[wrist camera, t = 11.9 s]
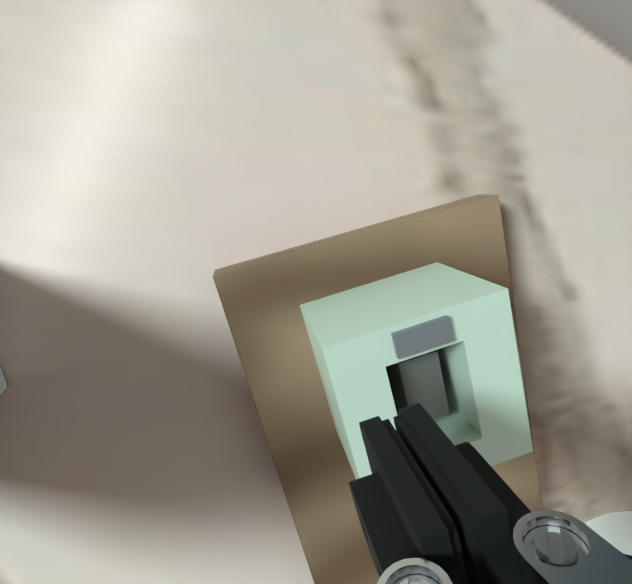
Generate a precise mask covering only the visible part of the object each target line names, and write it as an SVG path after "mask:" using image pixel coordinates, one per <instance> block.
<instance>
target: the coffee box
mask: <svg viewBox="0 0 632 584" xmlns="http://www.w3.org/2000/svg"><path fill="white" fill-rule="evenodd" d="M6 389H7V383H6V380H5V377H4V374H3V372H2V370H1V368H0V395H1V394H2V393H3V392H4V391H5V390H6Z"/></svg>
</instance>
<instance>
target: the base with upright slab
mask: <svg viewBox="0 0 632 584" xmlns="http://www.w3.org/2000/svg"><path fill="white" fill-rule="evenodd" d="M585 524H586V525H587V526H588V527H590V528H591V529H592V530H593V531H595V532H596V533H597V534H599V535H600V536H601V537H602V538H604V539H605V540H606V541H607V542H609V543H610V544H611V545H613V546H614V547H615V548H616V549H618V550H619V551H620V552H622V553H624V554H627V555H631V556H632V512H631V511H622V512H613V513H608V514H605V515H602V516H599V517H597V518H594V519H591V520H590V521H588V522H586V523H585Z"/></svg>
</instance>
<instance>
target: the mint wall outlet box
mask: <svg viewBox="0 0 632 584" xmlns="http://www.w3.org/2000/svg"><path fill="white" fill-rule="evenodd" d="M300 308H301V311H302V315H303V318H304V322H305V325H306V328H307V332H308V335H309V339H310V342H311V345H312V349H313V352H314V356H315V359H316V362H317V366H318V369H319V373H320V376H321V379H322V383H323V386H324V390H325V393H326V396H327V400H328V403H329V407H330V410H331V413H332V417H333V420H334V424H335V427H336V431H337V433H338V436H339V438H340V441H341V443H342V446H343V448H344V450H345V453H346V455H347V458H348V460H349V463H350V465H351V468H352V470H353V473H354V475H355V478H356V479H359V478H362V477H365V476H368V475H371V474H372V472H371V468H370V464H369V461H368V457H367V453H366V449H365V445H364V441H363V438H362V434H361V430H360V426H359V422H362V421H365V420H368V419H371V418H374V417H377V416H379V417H380V418H381V420H382V421H383V420H386V419H389V420H390V422H391V424H392V425H393V427H394V428H395V424H394V417H395V416H398V415H399V409H400V408H399V407H398V405H397V404H396V402H395V401H394V400H393V395H392V391H391V387H390V383H389V379H388V375H387V371H386V366H389V365H392V364H395V363H398V362H401V361H404V360H407V359H410V358H413V357H416V356H419V355H422V354H425V353H428V352H431V351H434V350H437V351H438V356H439V361H440V367H441V372H442V377H443V382H444V387H445V392H446V397H447V402H448V407H449V412H450V413H447V414H444V415H441V416H438V417H436V418H433V420H434V421H435V422H436V423H437V425H438V426H439V427H440V428H441V429H442V431H443V432H444V433H445V434H446V436H447V437H448V438H449V439H450V440H451V442H452V443H453V444H454V445H458V444H461V443H463V442H469V443H470V444H471V445H472V446H473V447H474V448H475V449H476V450H477V451H478V452H479V453H480V455H481V456H482V457H483V458H484V459H485V460H486V461H487V462H488V464H489V465H490V466H494V465H497V464H500V463H502V462H505V461H508V460H511V459H513V458H516V457H519V456H522V455H524V454H527V453H530V452H533V447H532V441H531V434H530V428H529V421H528V415H527V408H526V402H525V395H524V389H523V382H522V376H521V369H520V363H519V356H518V350H517V343H516V337H515V331H514V324H513V318H512V311H511V305H510V298H509V292H508V288H505V287H502V286H500V285H497V284H494V283H492V282H489V281H486V280H484V279H481V278H478V277H476V276H473V275H470V274H468V273H465V272H462V271H460V270H457V269H454V268H452V267H449V266H446V265H444V264H441V263H438V262H436V263H433V264H430V265H426V266H423V267H420V268H417V269H414V270H410V271H407V272H404V273H401V274H398V275H394V276H391V277H388V278H385V279H381V280H378V281H375V282H372V283H369V284H365V285H362V286H359V287H356V288H353V289H349V290H346V291H343V292H340V293H337V294H333V295H330V296H327V297H324V298H320V299H317V300H314V301H311V302H308V303H304V304H301V305H300ZM395 430H396V428H395Z"/></svg>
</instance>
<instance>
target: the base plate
mask: <svg viewBox="0 0 632 584" xmlns="http://www.w3.org/2000/svg"><path fill="white" fill-rule="evenodd" d="M436 262H438V263H441V264H444V265H446V266H449V267H452V268H454V269H457V270H460V271H462V272H465V273H468V274H470V275H473V276H476V277H478V278H481V279H484V280H486V281H489V282H492V283H494V284H497V285H500V286H502V287H505V288H508V292H509V298H510V305H511V311H512V318H513V324H514V331H515V337H516V343H517V350H518V356H519V363H520V369H521V376H522V382H523V389H524V395H525V402H526V408H527V415H528V421H529V428H530V434H531V441H532V447H533V452H530V453H527V454H524V455H522V456H519V457H516V458H513V459H511V460H508V461H505V462H502V463H500V464H497V465H494V466H491V467H492V468H493V469H494V470H495V471H496V473H497V474H498V475H499V476H500V477H501V478H502V479H503V480H504V482H505V483H506V484H507V485H508V486H509V487H510V488H511V489H512V491H513V492H514V493H515V494H516V495H517V496H518V497H519V498H520V499H521V501H522V502H523V503H524V504H525V505H526V506H527V507H528V508H529V510H530V511H531V512H534V511H540V510H543V509H542V502H541V495H540V487H539V480H538V473H537V466H536V459H535V452H534V445H533V438H532V431H531V424H530V416H529V409H528V402H527V395H526V388H525V381H524V374H523V367H522V360H521V353H520V345H519V338H518V331H517V324H516V317H515V310H514V303H513V296H512V289H511V282H510V274H509V267H508V260H507V253H506V246H505V239H504V232H503V225H502V218H501V211H500V203H499V196H498V195H476V196H473V197H469V198H466V199H462V200H459V201H455V202H452V203H448V204H445V205H441V206H438V207H434V208H431V209H427V210H424V211H420V212H417V213H413V214H410V215H406V216H403V217H399V218H396V219H392V220H389V221H385V222H382V223H378V224H375V225H371V226H368V227H364V228H361V229H357V230H354V231H350V232H347V233H343V234H340V235H336V236H333V237H329V238H326V239H322V240H319V241H315V242H312V243H308V244H305V245H301V246H298V247H294V248H291V249H287V250H284V251H280V252H277V253H273V254H270V255H266V256H263V257H259V258H256V259H252V260H249V261H245V262H242V263H238V264H235V265H231V266H228V267H224V268H221V269H217V270H215V272H214V275H213V279H214V282H215V285H216V288H217V291H218V294H219V297H220V300H221V303H222V306H223V309H224V312H225V315H226V318H227V321H228V324H229V327H230V330H231V333H232V336H233V339H234V342H235V345H236V348H237V351H238V354H239V357H240V360H241V363H242V366H243V369H244V372H245V375H246V378H247V381H248V384H249V387H250V390H251V393H252V396H253V399H254V402H255V405H256V408H257V411H258V414H259V417H260V420H261V423H262V426H263V429H264V432H265V435H266V438H267V441H268V444H269V447H270V450H271V453H272V457H273V460H274V463H275V466H276V469H277V472H278V475H279V478H280V481H281V484H282V487H283V490H284V493H285V496H286V499H287V502H288V505H289V508H290V511H291V514H292V517H293V520H294V523H295V526H296V529H297V532H298V535H299V538H300V541H301V544H302V547H303V550H304V553H305V556H306V559H307V562H308V565H309V568H310V571H311V574H312V577H313V580H314V583H315V584H377V583H378V580H379V576H378V573H377V570H376V567H375V564H374V562H373V559H372V556H371V553H370V550H369V548H368V545H367V542H366V539H365V536H364V533H363V530H362V527H361V524H360V521H359V518H358V514H357V511H356V508H355V504H354V501H353V497H352V493H351V490H350V486H349V482H350V481H353V480H356V478H355V475H354V473H353V470H352V468H351V465H350V463H349V460H348V458H347V455H346V453H345V450H344V448H343V446H342V443H341V441H340V438H339V436H338V433H337V431H336V427H335V424H334V420H333V417H332V413H331V410H330V407H329V403H328V400H327V396H326V393H325V390H324V386H323V383H322V379H321V376H320V373H319V369H318V366H317V362H316V359H315V356H314V352H313V349H312V345H311V342H310V339H309V335H308V332H307V328H306V325H305V322H304V318H303V315H302V311H301V308H300V305H301V304H304V303H308V302H311V301H314V300H317V299H320V298H324V297H327V296H330V295H333V294H337V293H340V292H343V291H346V290H349V289H353V288H356V287H359V286H362V285H365V284H369V283H372V282H375V281H378V280H381V279H385V278H388V277H391V276H394V275H398V274H401V273H404V272H407V271H410V270H414V269H417V268H420V267H423V266H426V265H430V264H433V263H436ZM386 371H387V375H388V379H389V383H390V387H391V391H392V395H393V400H394V401H395V402H396V404H397V405H398V407H399V408H400V409H401V408H404V407H407V406H410V405H413V404H416V403H420V404H421V405H422V406H423V408H424V409H425V410H426V411H427V412H428V414H429V415H430V416H431V417H432V419H433V418H436V417H438V416H441V415H444V414H447V413H450V412H449V407H448V402H447V397H446V392H445V387H444V382H443V377H442V372H441V367H440V361H439V356H438V351H437V350H434V351H431V352H428V353H425V354H422V355H419V356H416V357H413V358H410V359H407V360H404V361H401V362H398V363H395V364H392V365H389V366H386Z"/></svg>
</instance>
